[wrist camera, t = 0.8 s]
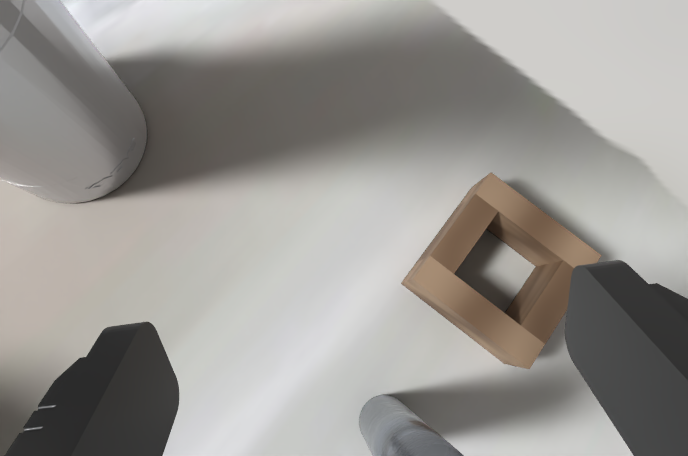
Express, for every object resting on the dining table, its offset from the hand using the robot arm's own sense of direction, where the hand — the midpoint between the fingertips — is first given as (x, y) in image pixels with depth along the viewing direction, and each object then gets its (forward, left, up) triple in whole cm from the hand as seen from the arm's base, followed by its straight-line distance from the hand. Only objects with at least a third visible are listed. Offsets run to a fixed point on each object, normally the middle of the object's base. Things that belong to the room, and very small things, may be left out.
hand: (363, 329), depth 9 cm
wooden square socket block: (+7, +10, -22) cm, 25 cm away
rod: (+7, -2, -22) cm, 23 cm away
